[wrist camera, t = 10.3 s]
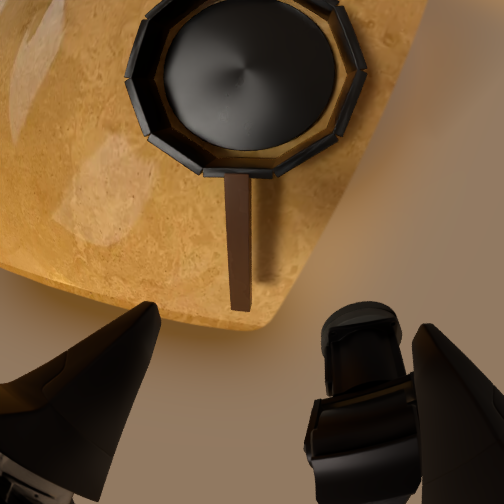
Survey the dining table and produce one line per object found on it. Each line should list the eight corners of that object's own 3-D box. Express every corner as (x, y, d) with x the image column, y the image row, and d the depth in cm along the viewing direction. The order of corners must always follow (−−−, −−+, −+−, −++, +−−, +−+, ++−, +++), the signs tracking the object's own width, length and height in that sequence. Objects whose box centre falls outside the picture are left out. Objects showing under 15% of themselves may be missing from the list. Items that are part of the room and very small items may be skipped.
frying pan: (151, 3, 12) (125, -9, 9) (352, -8, 10) (362, -28, 7) (171, 275, 24) (155, 300, 21) (330, 289, 22) (334, 318, 19)
